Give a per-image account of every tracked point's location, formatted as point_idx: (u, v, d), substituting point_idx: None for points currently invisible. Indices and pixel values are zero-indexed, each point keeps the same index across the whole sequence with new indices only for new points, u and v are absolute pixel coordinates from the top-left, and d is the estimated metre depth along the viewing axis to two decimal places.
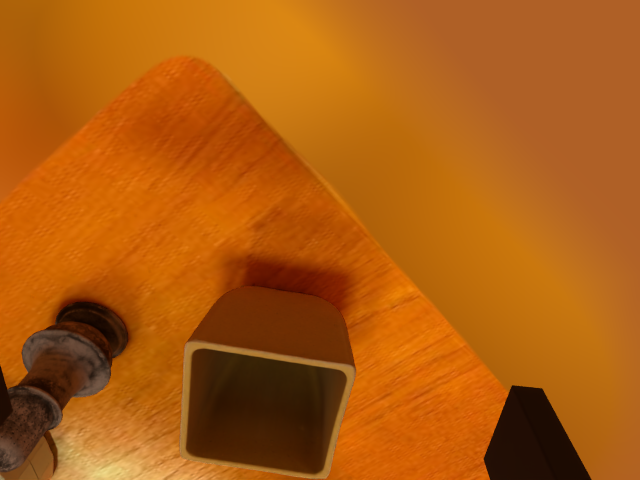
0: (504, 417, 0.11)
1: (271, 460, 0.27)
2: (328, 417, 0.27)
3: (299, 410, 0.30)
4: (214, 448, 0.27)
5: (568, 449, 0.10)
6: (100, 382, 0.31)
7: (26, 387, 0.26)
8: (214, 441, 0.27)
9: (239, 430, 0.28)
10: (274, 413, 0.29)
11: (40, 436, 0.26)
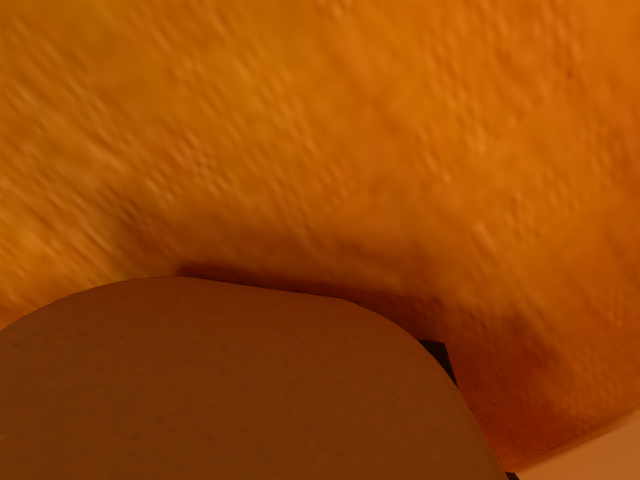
0: None
1: None
2: None
3: None
4: None
5: None
6: None
7: None
8: None
9: None
10: None
11: None
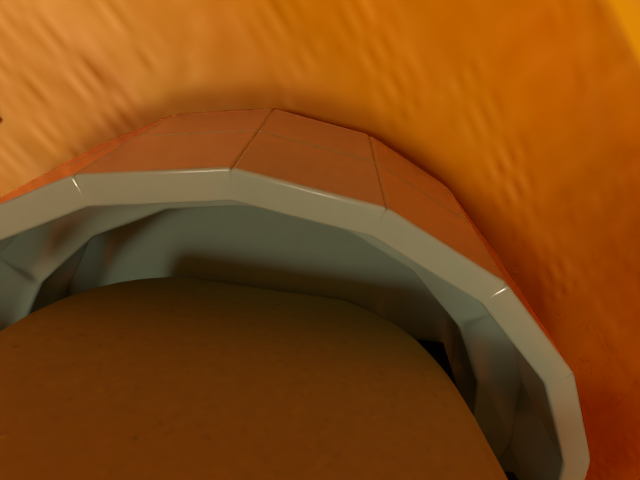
0: None
1: None
2: None
3: None
4: None
5: None
6: None
7: None
8: None
9: None
10: None
11: None
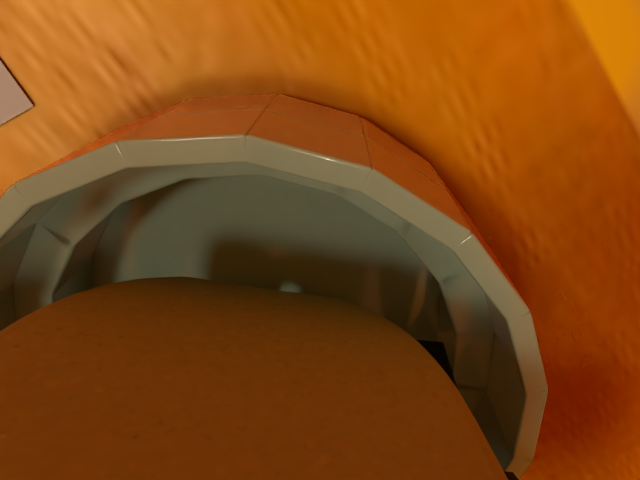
0: None
1: None
2: None
3: None
4: None
5: None
6: None
7: None
8: None
9: None
10: None
11: None
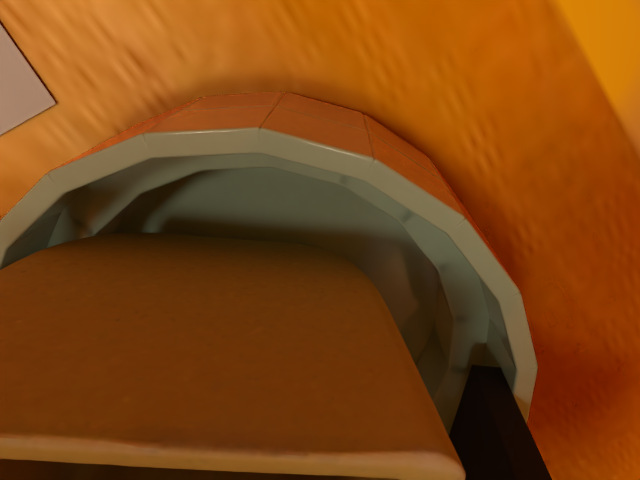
0: (465, 395, 0.12)
1: None
2: None
3: (63, 462, 0.12)
4: None
5: (519, 421, 0.10)
6: None
7: None
8: None
9: None
10: None
11: None
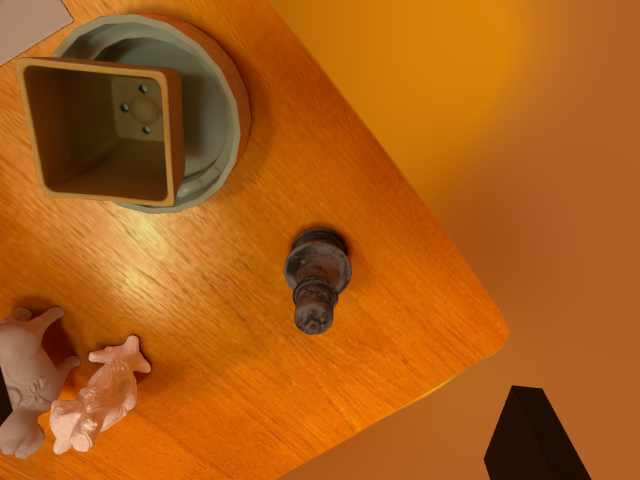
0: (504, 417, 0.11)
1: (42, 145, 0.29)
2: (99, 183, 0.32)
3: (76, 148, 0.33)
4: (33, 89, 0.28)
5: (568, 449, 0.10)
6: None
7: (337, 299, 0.36)
8: (37, 85, 0.28)
9: (50, 104, 0.29)
10: (69, 127, 0.32)
11: None
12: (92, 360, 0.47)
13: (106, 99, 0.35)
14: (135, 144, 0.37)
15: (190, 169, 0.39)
